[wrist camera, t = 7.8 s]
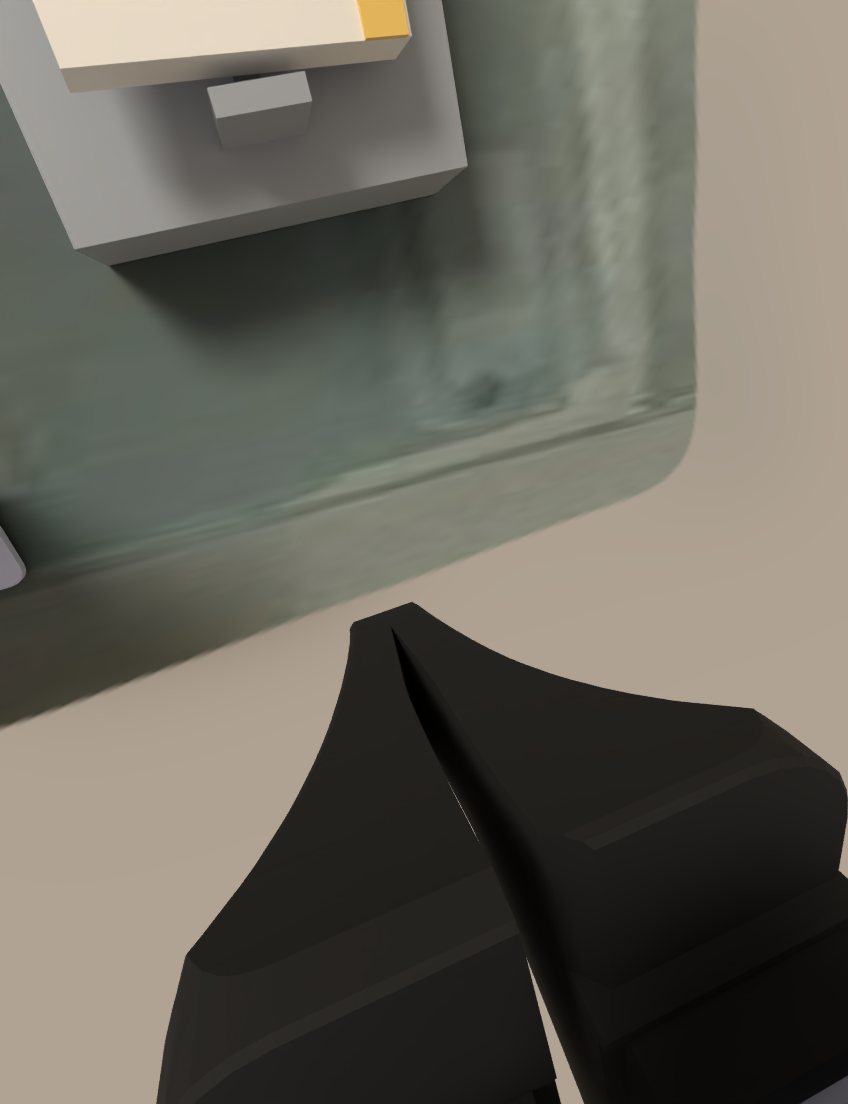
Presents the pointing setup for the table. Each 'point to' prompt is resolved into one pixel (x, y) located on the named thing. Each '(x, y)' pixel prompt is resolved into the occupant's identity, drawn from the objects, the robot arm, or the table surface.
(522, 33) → the table surface
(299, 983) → the robot arm
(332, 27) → the block
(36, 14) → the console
